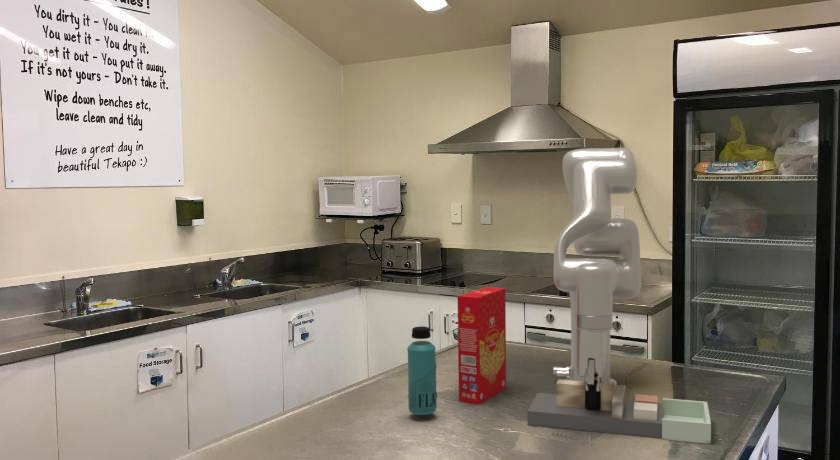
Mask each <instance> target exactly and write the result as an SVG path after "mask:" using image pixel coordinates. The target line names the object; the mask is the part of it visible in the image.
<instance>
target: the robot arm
mask: <svg viewBox="0 0 840 460" xmlns="http://www.w3.org/2000/svg"><path fill="white" fill-rule="evenodd" d="M562 174H563V179H564V180H563V181H564V182H565V185H566V189H567V191H568V194H569V197H570V200H571V203H572V219H571V220H570V221H569V223H568V224H566V226H564V228H563V229H562V230H561V232H560V233H559V235H558V237H557V239H556V242H555V245H554V249H553V281H554V282H553V283H554V285H555V287H556V288H557V289H558V290H559V291H560V292H561V291H562V292H564V293H569V300H570V337H571V338H570V366H565V367H562V366H553V370H552V371H553V374H554V375H556V377H566V378H564V380H573V381H585V382H586V390H585V408H586V409H590V410H600V409H601V391H599V390H600V383H610V384H615V388H616V385H618V384H617V381H616V380H615V379H614V378H611V331H613V300H616V299H617V300H619V299H620V300H630V299H631V300H632V299H635V298H637V297H638V296H639V295H640V293H641V289H642V269H641V268H642V266H641V265H642V263H641V247H640V245H641V244H640V233H639V229H638V226H637V223H635V222H634V221H633V220H632V219H628V218H612V206H611V205H612V200H611V199H612V198H611V196H612V195H616V194H617V195H618V194H620V195H623V194H625V195H626V194H627V195H628V194H631V193H634V191H635V189H636V187H637V182H638V169H637V164H636V160H635V158H634V155H633V151H631V150H630V148H627V147H603V148H602V147H600V148H599V147H595V148H594V147H591V148H590V147H589V148H578V149H577V148H576V149H573V150H570V151H568V152H565V154H564V156H563V158H562ZM572 244H573V248H574V250H575V252H576V253H577V254H578V255H580V256H584V257H586V256H587V257H611V258H613V257H614V258H615V257H617V258H618V259H607V258H582V257H581V258H577V257H576V258H571V257H570V258H567V251H568V248H569V247H570V246H571V245H572ZM596 382H597V383H596Z"/></svg>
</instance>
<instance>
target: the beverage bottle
mask: <svg viewBox="0 0 840 460" xmlns="http://www.w3.org/2000/svg"><path fill="white" fill-rule="evenodd" d="M431 336H432V334H431V328H430V327H428V326H423V325H422V326H414V327H413V328H412V330H411V338H413V339H416V341H412V343H410V344H409V345H408V347H407V350H406V351H407V376H408V377H407V379H408V381H407V388H408V391H407V393H408V394H407V403H408V405H407V406H408V411H409V413H410V414H413V415H419V416H424V415H426V416H427V415H431V414H434V413H435V412H436V411H437V405H438V403H437V402H438V395H437V394H438V393H437V386H438V384H437V359H436V357H437V356H436V346H435V345H434V344H433V343H432V342H431V341H428V340H427V339H429V338H431Z"/></svg>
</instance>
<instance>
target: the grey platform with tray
mask: <svg viewBox="0 0 840 460" xmlns="http://www.w3.org/2000/svg"><path fill="white" fill-rule="evenodd" d="M661 400H662V402H657V421H655V420H644V419H634V403H635V400H627V399H626V403H625V407H624V412H623V417H622V419H615V418H612V411H606V410H590V409H584V408H574V407H563V406H556V393H545V392H537V393H536V395H535V397H534V399H533V400H532V402H531V404H530V406H529V407H528V409H527V412H526V414H527V416H526V417H527V425H528V426H538V427H547V428H556V429H567V430H578V431H585V432H586V431H587V432H596V433H606V434H614V435H615V434H616V435H617V434H618V435H625V436H634V437H635V436H637V437H645V438H654V439H655V438H656V439H657V438H658V439H661V440H667V441H678V442H687V443H688V442H689V443H696V444H707V445H711V444H712V422H711V421H712V420H711V417H710V411H709V404H708V401H703V400H702V401H699V400H689V399H680V398H679V399H678V398H677V399H676V398H668V397H667V398H666V397H665V398H664V397H663V398H662V399H661Z"/></svg>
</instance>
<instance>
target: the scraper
mask: <svg viewBox="0 0 840 460" xmlns="http://www.w3.org/2000/svg"><path fill="white" fill-rule="evenodd" d="M596 383H597V382H596ZM585 390H586V382H585V381H573V380H565V379H560V378H558V379H557V380H556V383H555V394H556V406H563V407H574V408H584V409H586V408H585ZM626 390H627V385H623V384H617V385H616V388H615V384H610V383H600V390H599V391H601V409H600V410H606V411H612V418H615V419H622V417H623V412H624V407H625V403H626V400H627V391H626Z"/></svg>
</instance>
